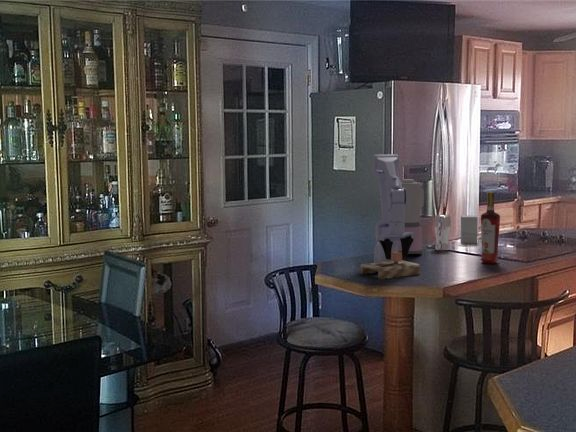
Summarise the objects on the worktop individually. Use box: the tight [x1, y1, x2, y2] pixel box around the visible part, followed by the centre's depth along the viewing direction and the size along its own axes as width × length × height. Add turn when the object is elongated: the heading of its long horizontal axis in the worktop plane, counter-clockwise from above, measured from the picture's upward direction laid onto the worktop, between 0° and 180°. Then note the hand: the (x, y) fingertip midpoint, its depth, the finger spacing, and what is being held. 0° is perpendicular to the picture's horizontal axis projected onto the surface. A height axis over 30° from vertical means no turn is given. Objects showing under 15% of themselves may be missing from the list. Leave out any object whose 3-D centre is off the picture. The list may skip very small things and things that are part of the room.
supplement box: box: [460, 214, 479, 244], centre depth 332 cm, size 7×7×13 cm
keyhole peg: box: [390, 251, 403, 265], centre depth 261 cm, size 4×4×8 cm
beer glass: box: [434, 214, 452, 251], centre depth 313 cm, size 7×7×15 cm
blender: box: [398, 178, 426, 256], centre depth 301 cm, size 16×12×32 cm
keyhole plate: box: [360, 259, 421, 280], centre depth 260 cm, size 18×12×4 cm, turn 119°
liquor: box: [480, 191, 501, 265], centre depth 277 cm, size 7×7×28 cm
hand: (396, 258), depth 261 cm, fingers open, 7 cm apart
